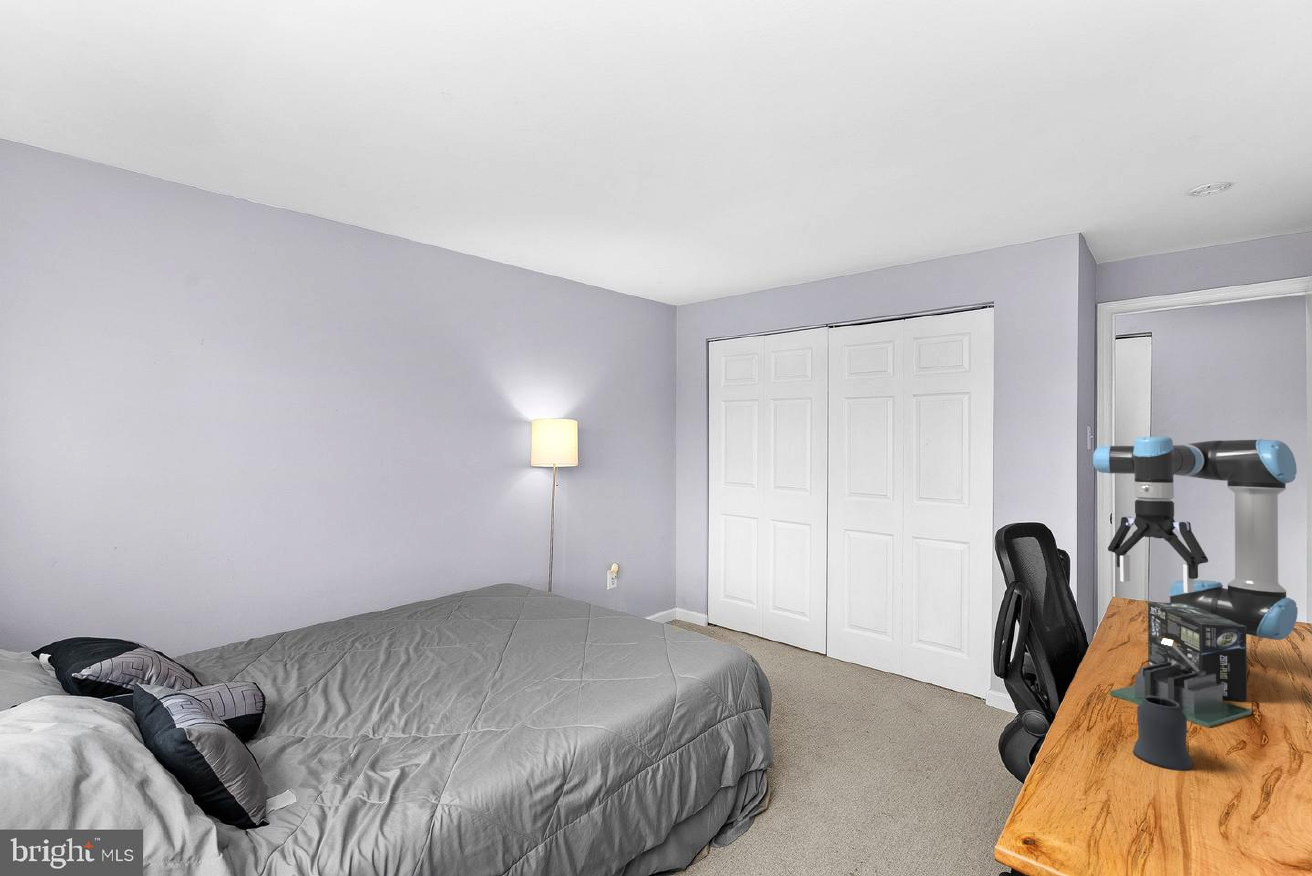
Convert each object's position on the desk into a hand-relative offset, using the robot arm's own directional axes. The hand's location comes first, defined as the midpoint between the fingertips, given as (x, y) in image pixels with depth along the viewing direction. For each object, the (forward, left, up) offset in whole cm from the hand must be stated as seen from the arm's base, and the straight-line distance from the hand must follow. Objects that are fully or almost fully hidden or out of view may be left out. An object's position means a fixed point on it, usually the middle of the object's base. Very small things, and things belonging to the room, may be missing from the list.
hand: (1155, 586), depth 150 cm
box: (-22, -3, -28) cm, 36 cm away
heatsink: (-2, +3, -28) cm, 28 cm away
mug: (+31, +17, -28) cm, 45 cm away
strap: (-4, +3, -17) cm, 18 cm away
